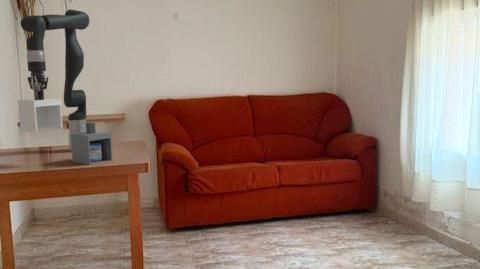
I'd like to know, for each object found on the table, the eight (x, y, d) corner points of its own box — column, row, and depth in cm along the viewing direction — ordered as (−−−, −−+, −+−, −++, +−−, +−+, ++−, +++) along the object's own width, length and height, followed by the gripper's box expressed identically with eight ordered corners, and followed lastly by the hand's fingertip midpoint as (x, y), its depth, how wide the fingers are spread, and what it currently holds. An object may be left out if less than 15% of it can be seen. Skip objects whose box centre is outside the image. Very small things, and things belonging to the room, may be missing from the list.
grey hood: (20, 129, 214) (16, 89, 212) (46, 126, 225) (43, 88, 222) (36, 131, 207) (32, 89, 204) (62, 128, 217) (59, 88, 215)
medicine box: (85, 162, 222) (83, 144, 221) (83, 161, 226) (82, 143, 225) (102, 160, 225) (100, 143, 224) (100, 159, 229) (99, 142, 228)
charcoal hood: (72, 161, 224) (70, 123, 222) (95, 157, 235) (93, 120, 232) (89, 164, 216) (87, 125, 214) (112, 160, 227) (110, 122, 224)
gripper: (20, 61, 213) (23, 99, 215) (37, 60, 204) (40, 99, 207) (35, 61, 219) (38, 98, 221) (52, 60, 210) (55, 98, 213)
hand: (39, 98), depth 214 cm, fingers closed on grey hood, 3 cm apart
